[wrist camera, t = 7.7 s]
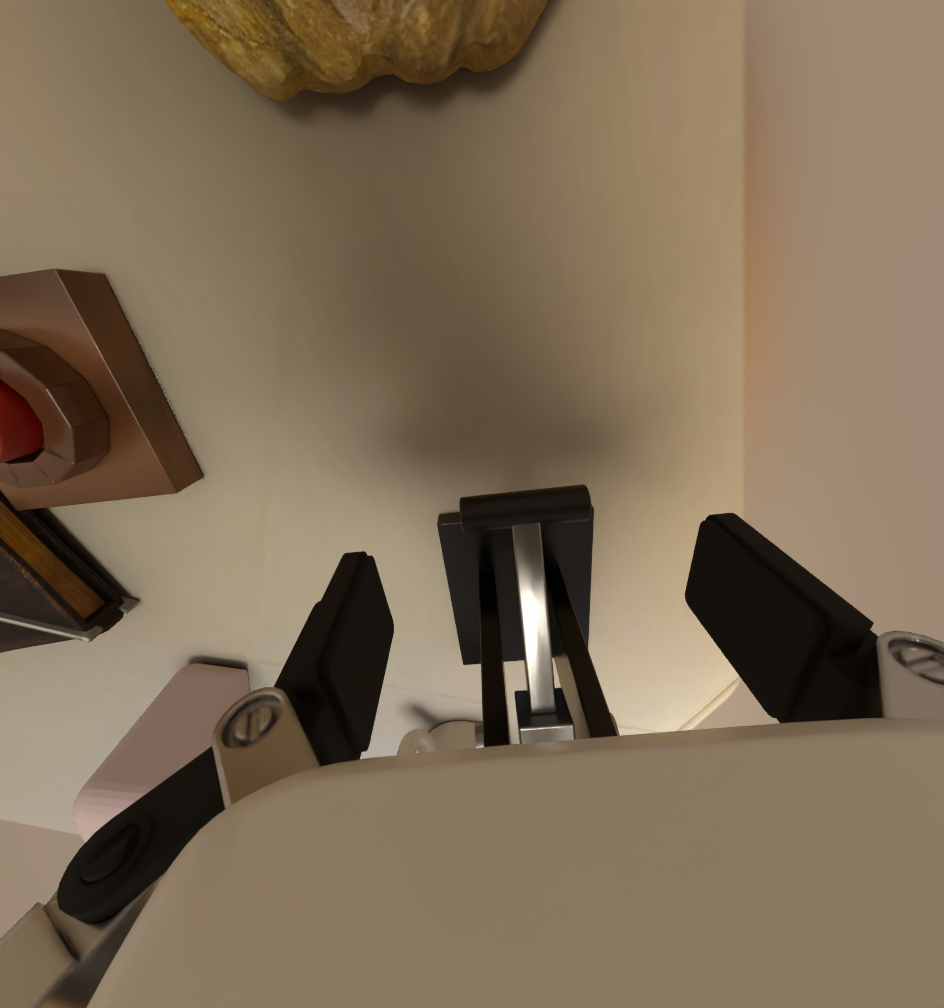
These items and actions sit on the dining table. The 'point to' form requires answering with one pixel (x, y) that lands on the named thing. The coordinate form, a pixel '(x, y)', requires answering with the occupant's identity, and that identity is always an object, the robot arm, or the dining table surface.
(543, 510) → the switch lever
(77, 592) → the book
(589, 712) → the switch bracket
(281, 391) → the dining table surface
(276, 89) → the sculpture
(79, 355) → the button block
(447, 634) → the dining table surface
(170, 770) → the electronic device
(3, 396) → the red button
